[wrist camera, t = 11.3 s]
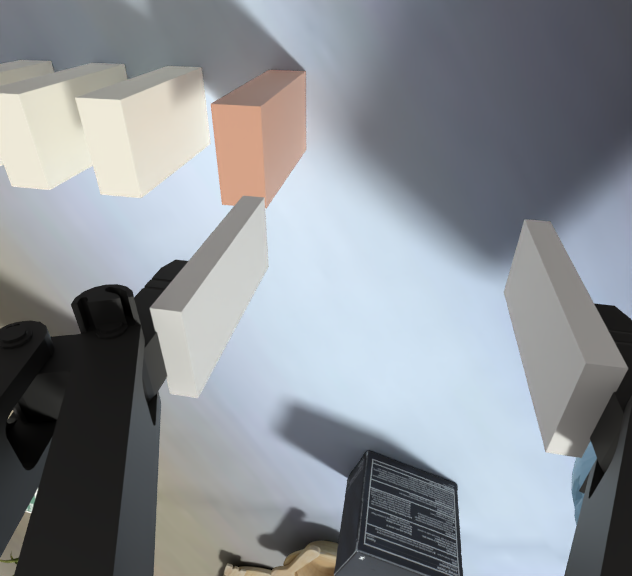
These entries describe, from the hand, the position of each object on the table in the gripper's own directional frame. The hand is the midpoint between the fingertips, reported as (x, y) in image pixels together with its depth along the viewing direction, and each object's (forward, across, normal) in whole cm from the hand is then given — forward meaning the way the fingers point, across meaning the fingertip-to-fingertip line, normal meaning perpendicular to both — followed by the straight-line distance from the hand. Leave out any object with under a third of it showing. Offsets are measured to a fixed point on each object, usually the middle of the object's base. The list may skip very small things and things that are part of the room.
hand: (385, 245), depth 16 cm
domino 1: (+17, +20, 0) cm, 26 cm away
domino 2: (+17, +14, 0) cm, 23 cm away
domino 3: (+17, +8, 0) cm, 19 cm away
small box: (+18, -4, +38) cm, 42 cm away
